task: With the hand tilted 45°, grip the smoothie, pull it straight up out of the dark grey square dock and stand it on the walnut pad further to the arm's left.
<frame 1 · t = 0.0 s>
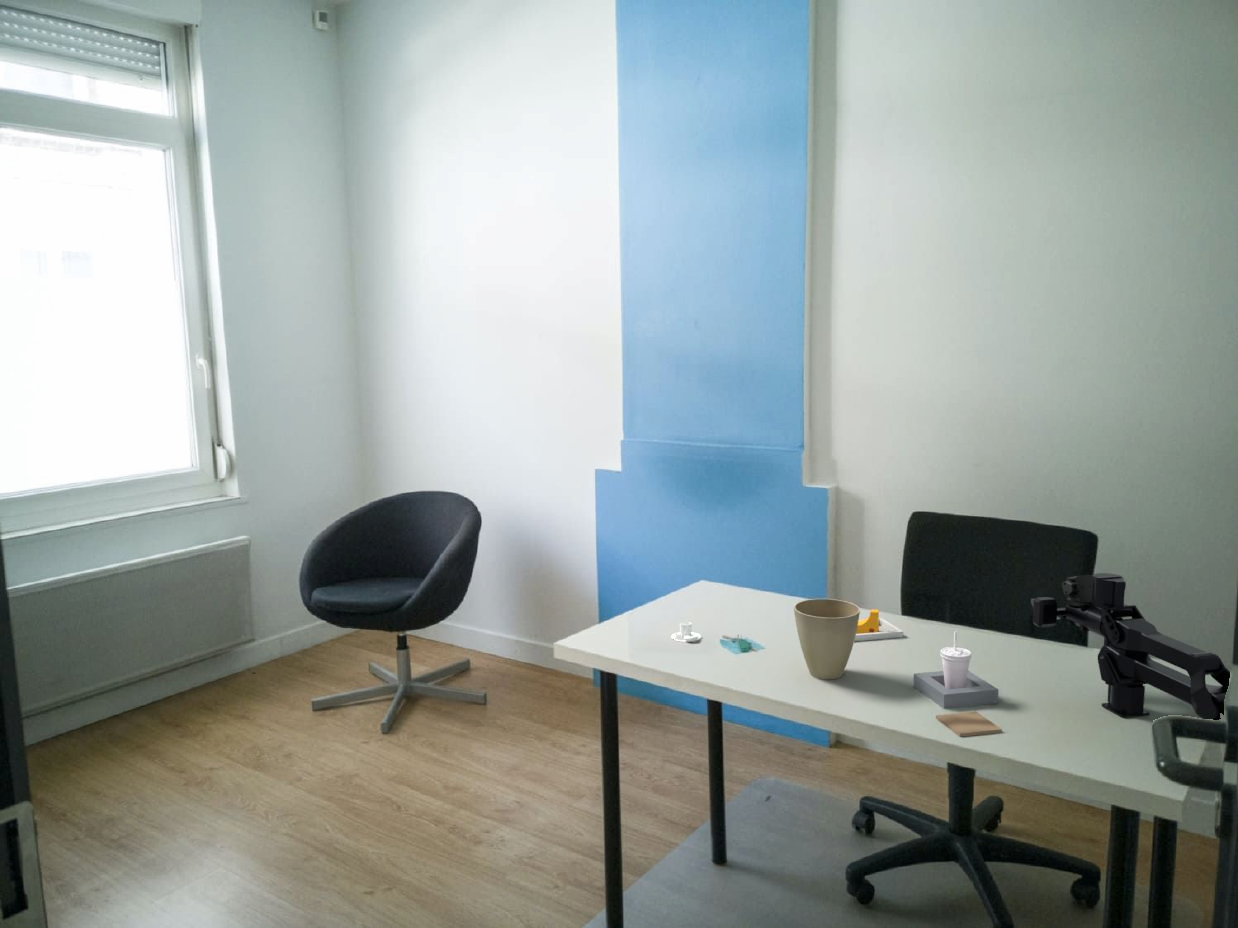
hand: (1049, 599, 211), 17 cm above the table, tool horizontal, fingers open, 9 cm apart
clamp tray: (860, 632, 242), on the table
smoothie: (954, 695, 199), resting in dock
dock: (954, 694, 199), on the table
plant pot: (825, 674, 212), on the table
pad: (968, 725, 183), on the table
teacup and saucer: (678, 642, 239), on the table
pipe clamp: (854, 632, 243), resting in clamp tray
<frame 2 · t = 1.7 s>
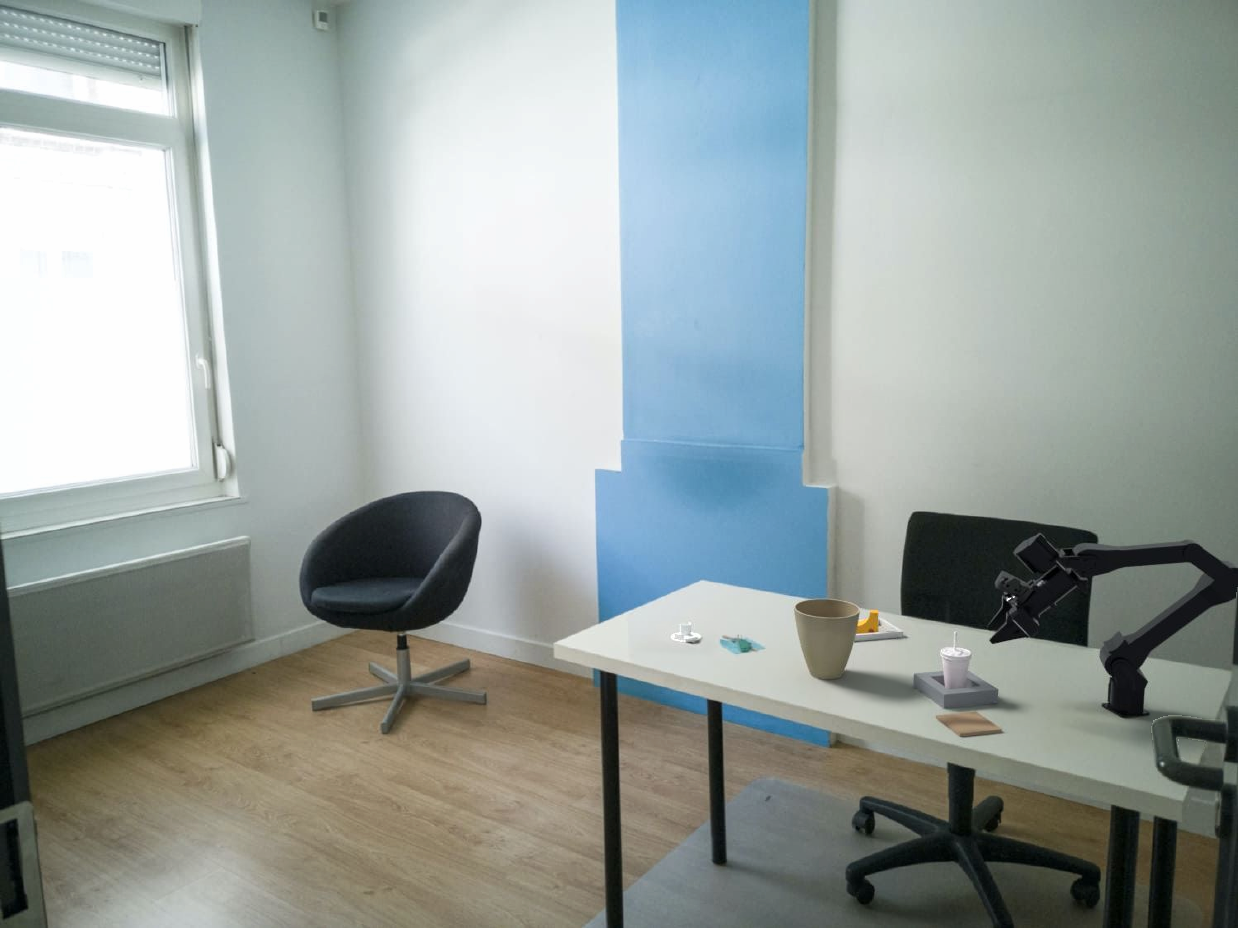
hand: (989, 635, 195), 14 cm above the table, tool tilted 45°, fingers open, 9 cm apart
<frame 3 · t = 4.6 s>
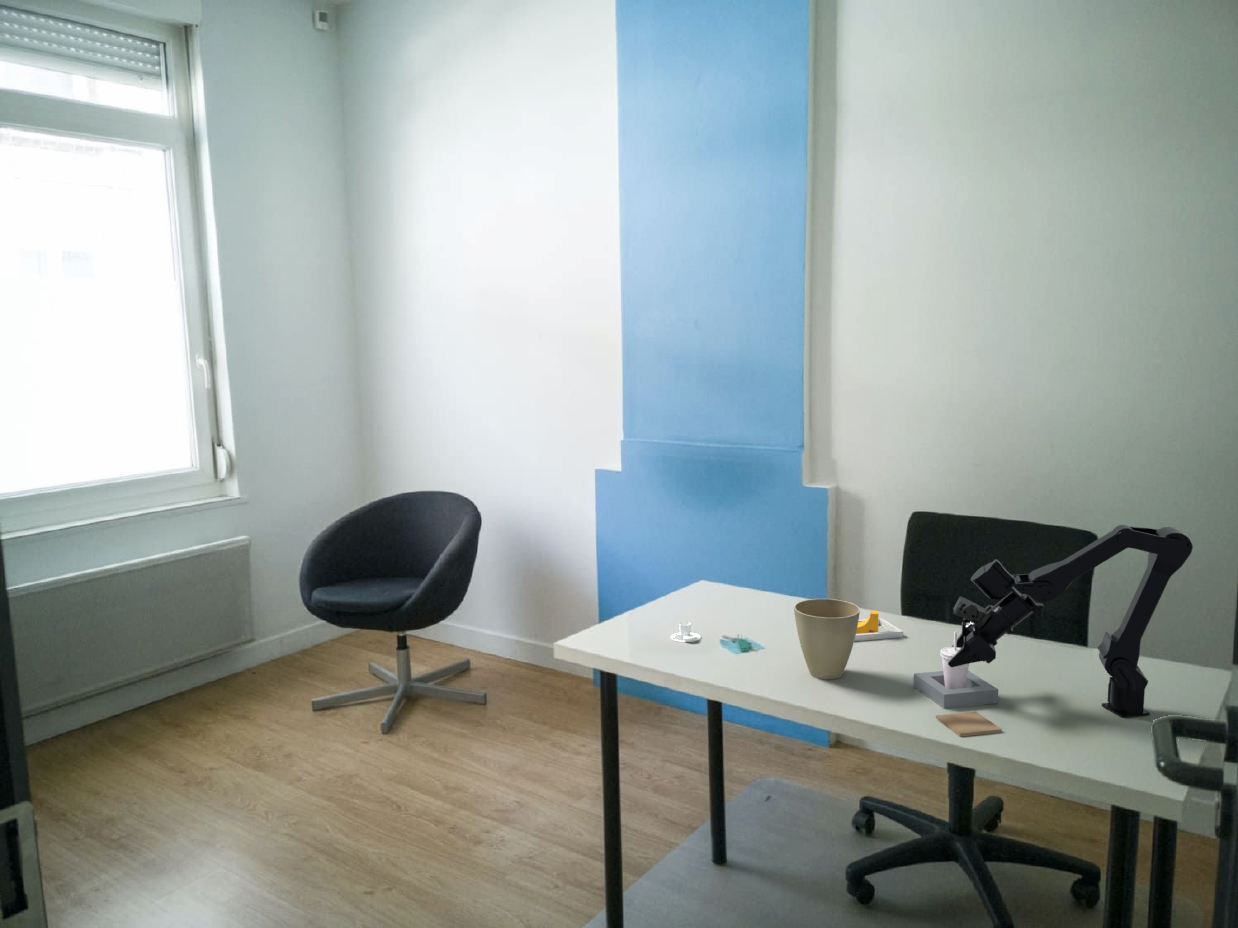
hand: (948, 660, 198), 8 cm above the table, tool tilted 45°, fingers closed on smoothie, 6 cm apart
smoothie: (954, 695, 199), resting in dock, touching gripper
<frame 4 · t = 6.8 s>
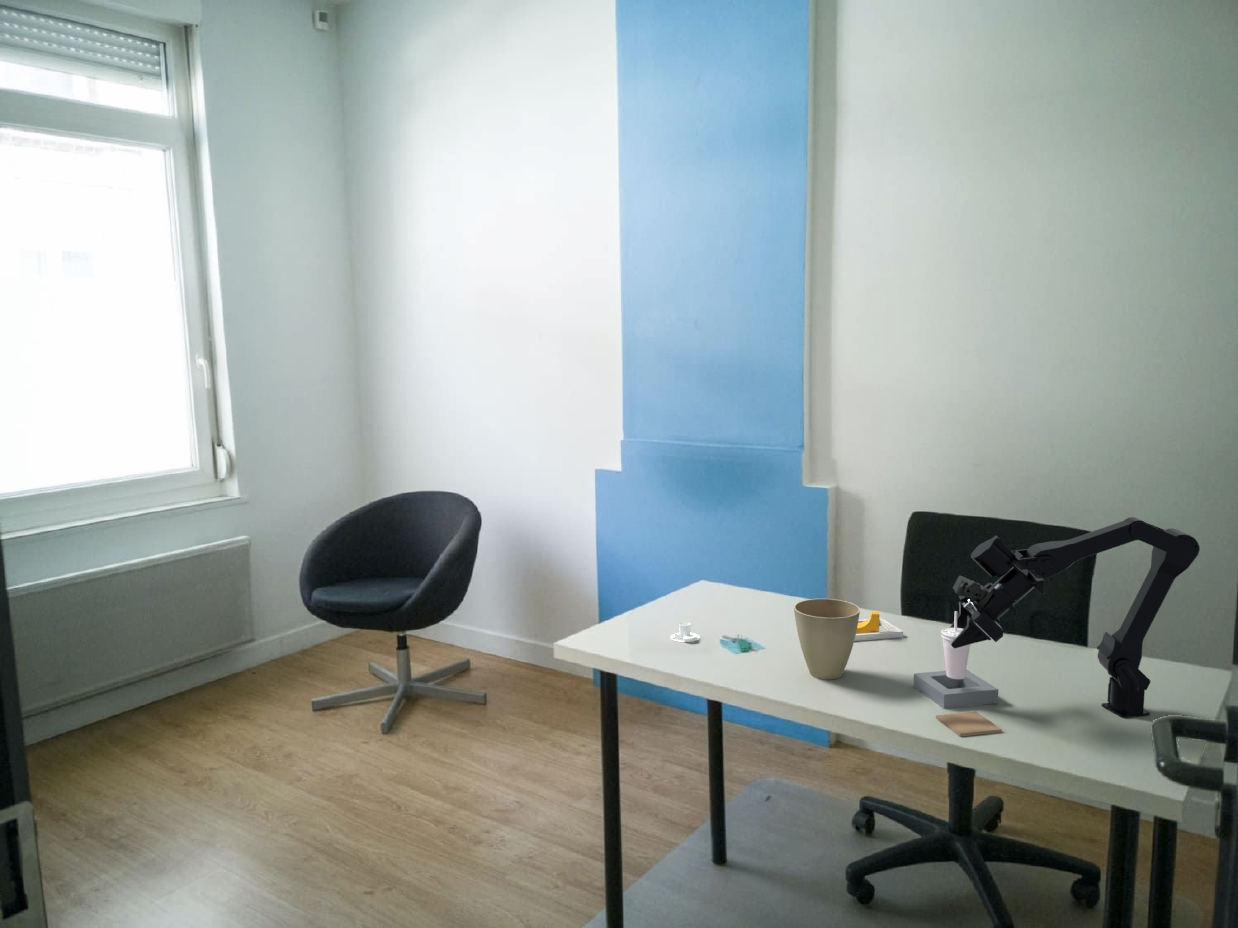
hand: (949, 641, 193), 13 cm above the table, tool tilted 45°, fingers closed on smoothie, 6 cm apart
smoothie: (955, 677, 194), point 6 cm above the table, touching gripper
when the fingers open (9 cm above the table, at t = 9.3 s): smoothie stays where it is, resting on pad.
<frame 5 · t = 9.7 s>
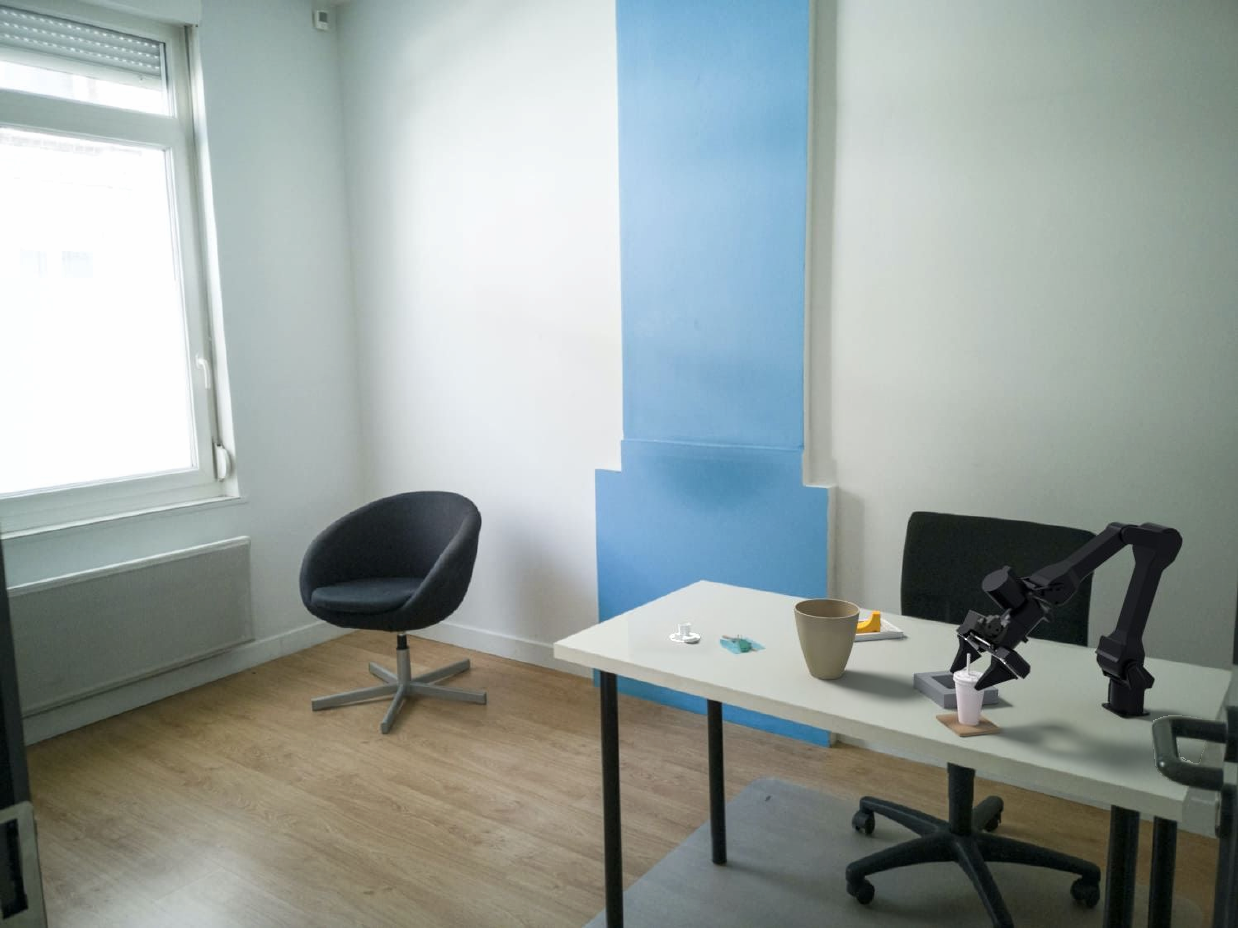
hand: (963, 680, 182), 9 cm above the table, tool tilted 45°, fingers open, 9 cm apart
smoothie: (968, 723, 183), resting on pad
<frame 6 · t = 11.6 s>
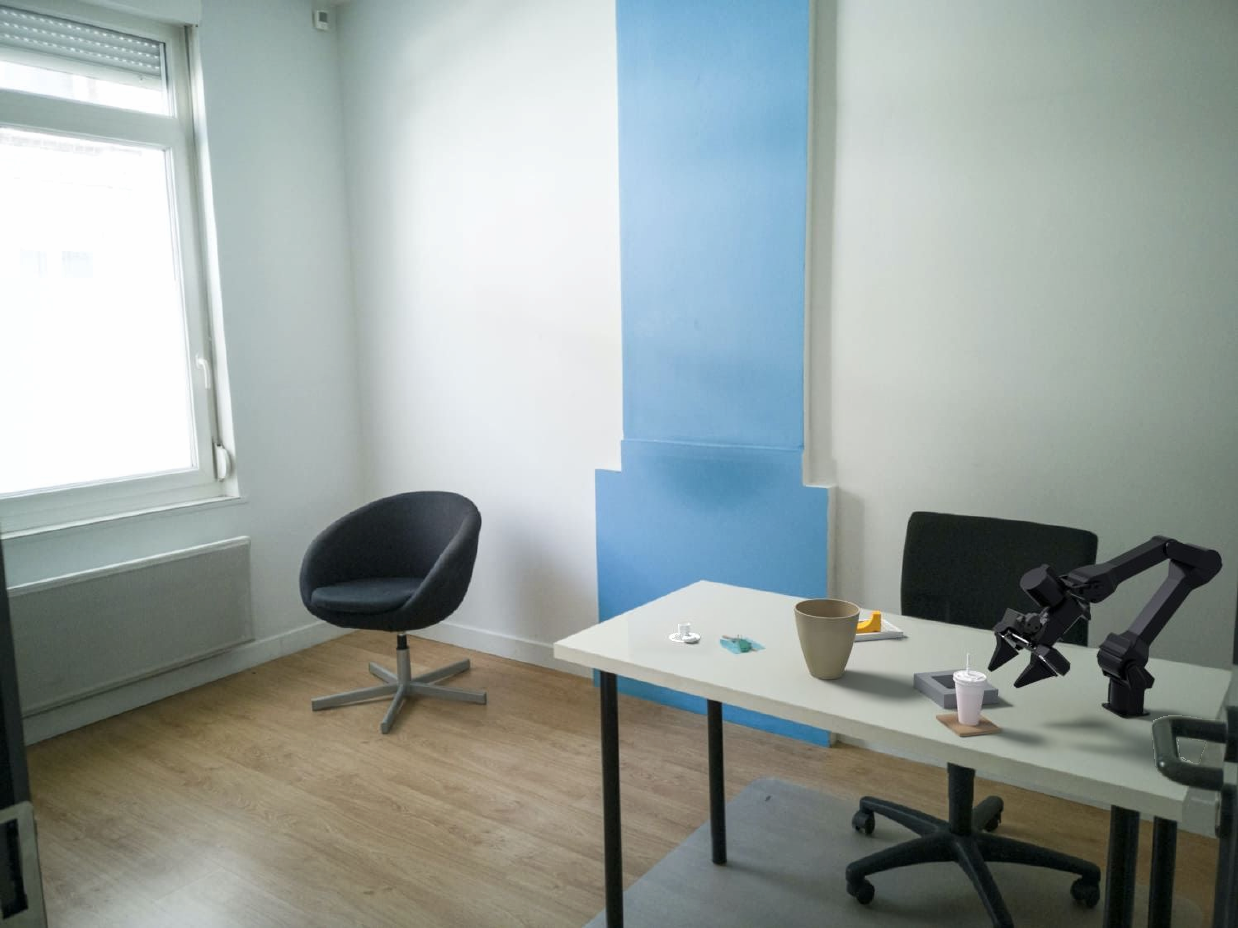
hand: (1001, 678, 183), 9 cm above the table, tool tilted 45°, fingers open, 9 cm apart
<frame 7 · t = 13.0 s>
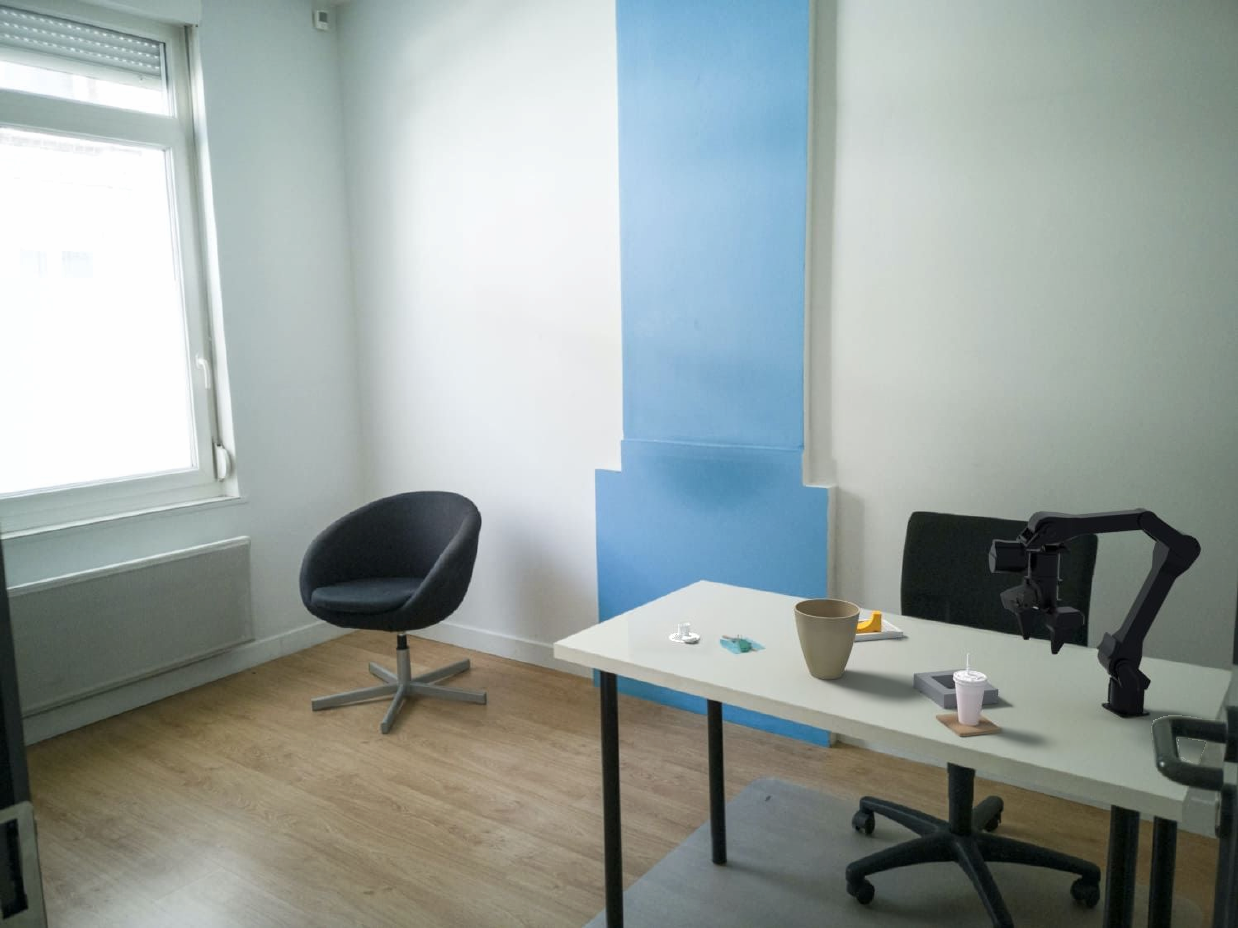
hand: (1039, 646, 190), 13 cm above the table, tool pointing down, fingers open, 9 cm apart
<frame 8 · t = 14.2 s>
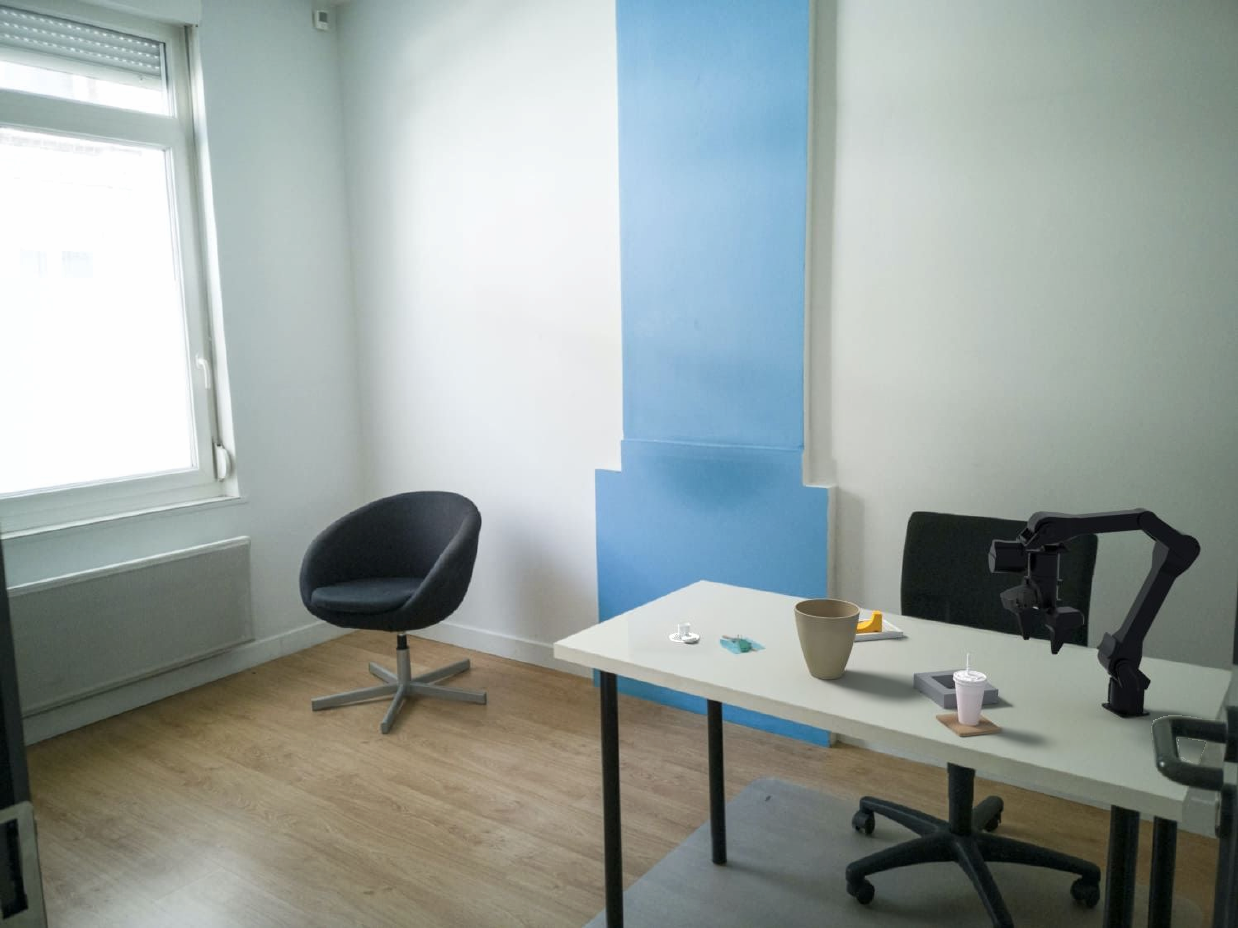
hand: (1039, 646, 190), 13 cm above the table, tool pointing down, fingers open, 9 cm apart
at the end: smoothie inside the target area on the pad (0.1 cm from its centre), point 0.4 cm above the pad's base; smoothie tilted 0°; the gripper is holding nothing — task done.
